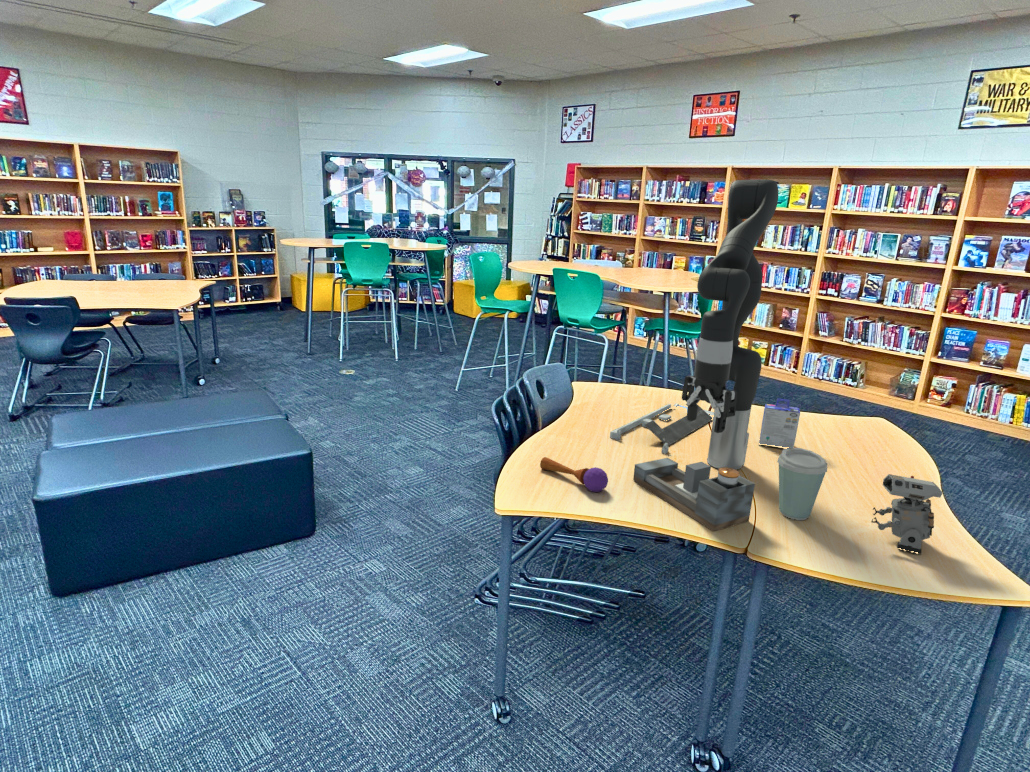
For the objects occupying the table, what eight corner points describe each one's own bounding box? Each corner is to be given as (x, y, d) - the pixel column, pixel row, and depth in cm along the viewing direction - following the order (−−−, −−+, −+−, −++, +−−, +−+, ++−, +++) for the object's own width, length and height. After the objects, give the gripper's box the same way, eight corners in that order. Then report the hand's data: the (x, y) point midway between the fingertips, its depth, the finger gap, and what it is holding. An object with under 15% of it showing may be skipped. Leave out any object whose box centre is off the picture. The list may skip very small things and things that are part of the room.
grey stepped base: (665, 473, 164) (669, 440, 161) (748, 521, 140) (755, 483, 138) (633, 480, 159) (636, 446, 156) (713, 531, 135) (719, 492, 133)
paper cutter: (609, 438, 188) (611, 421, 186) (675, 406, 221) (677, 391, 219) (663, 455, 177) (665, 437, 175) (724, 419, 210) (726, 403, 208)
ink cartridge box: (792, 445, 188) (801, 400, 183) (794, 451, 183) (802, 405, 178) (758, 439, 191) (766, 395, 187) (758, 446, 186) (766, 400, 182)
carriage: (693, 487, 152) (697, 458, 150) (714, 500, 146) (719, 469, 144) (674, 492, 149) (677, 462, 147) (694, 505, 143) (699, 473, 141)
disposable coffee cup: (828, 522, 141) (841, 462, 137) (789, 528, 138) (801, 466, 134) (795, 501, 151) (806, 445, 147) (758, 506, 148) (768, 448, 144)
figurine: (866, 525, 141) (880, 465, 137) (925, 539, 136) (941, 477, 132) (866, 542, 133) (881, 479, 129) (928, 558, 128) (946, 493, 124)
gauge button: (726, 480, 141) (728, 466, 140) (741, 488, 137) (743, 473, 136) (712, 483, 139) (714, 469, 138) (727, 491, 135) (729, 477, 134)
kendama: (552, 451, 165) (614, 469, 152) (550, 472, 166) (610, 493, 152) (538, 453, 161) (599, 472, 148) (535, 475, 162) (596, 496, 148)
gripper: (750, 364, 133) (740, 434, 138) (702, 349, 145) (694, 414, 150) (725, 367, 130) (715, 439, 134) (678, 352, 142) (671, 418, 146)
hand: (704, 426), depth 142 cm, fingers open, 8 cm apart
